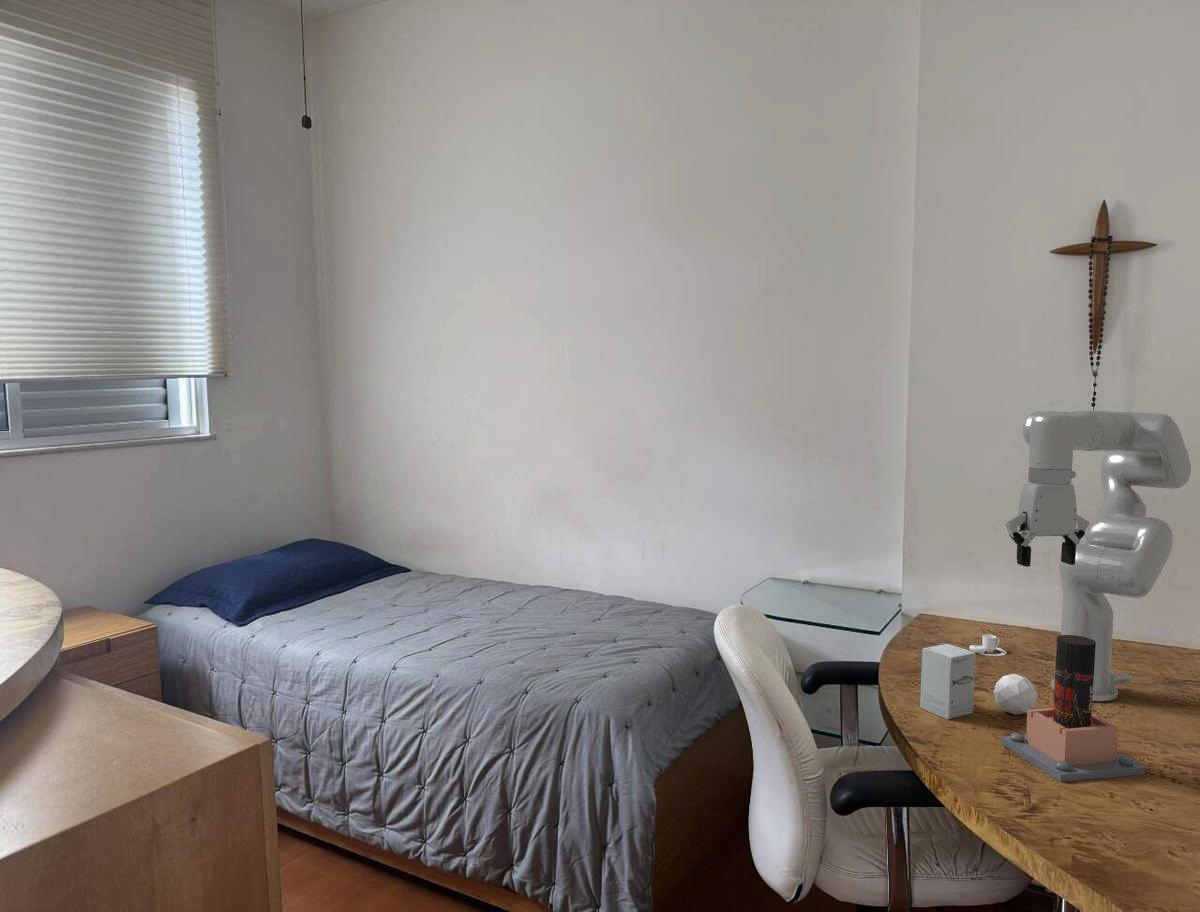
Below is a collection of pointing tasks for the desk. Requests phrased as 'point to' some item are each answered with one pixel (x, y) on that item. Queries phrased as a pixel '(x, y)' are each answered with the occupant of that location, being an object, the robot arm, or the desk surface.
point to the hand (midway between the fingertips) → (1045, 564)
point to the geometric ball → (1015, 694)
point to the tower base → (1067, 768)
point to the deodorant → (1074, 681)
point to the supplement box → (947, 681)
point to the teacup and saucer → (988, 646)
